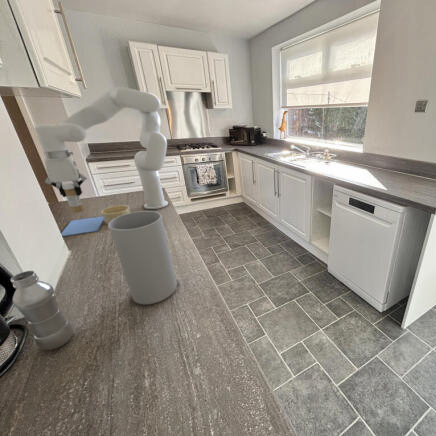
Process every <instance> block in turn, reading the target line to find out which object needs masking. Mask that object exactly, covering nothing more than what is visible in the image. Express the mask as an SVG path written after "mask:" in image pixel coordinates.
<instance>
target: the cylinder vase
mask: <svg viewBox="0 0 436 436" xmlns="http://www.w3.org/2000/svg"><path fill="white" fill-rule="evenodd" d="M164 225H165V224H164V221H163V216H162V214H161V213H160V212H158V211H155V210H141V211H134V212H131V213H128V214H125V215H121V216H119V217H117V218H115V219H113V220H111V221H110V222H109V223H108V224H107V227H108V230H109V233H110V237H111V239H112V242H113V245H114V248H115V251H116V254H117V257H118V260H119V263H120V266H121V269H122V273H123V275H124V277H125V278H124V279H125V280H126V283H127V286H128V289H129V292H130V295H131V298H132V300H133V301H134V302H135V303H136V304H139V305H154V304H157V303H160V302H162V301H164V300H166V299H167V298H169V297H170V296H171V295H172V294H173V293H174V292H175V291H176V290H177V286H178V282H177V279H176V273H175V270H174V269H175V268H174V265H173V260H172V256H171V251H170V247H169V244H168V239H167V235H166V230H165V226H164Z"/></svg>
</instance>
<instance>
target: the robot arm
mask: <svg viewBox="0 0 436 436" xmlns="http://www.w3.org/2000/svg"><path fill="white" fill-rule="evenodd" d="M161 106H162V105H161V100H160V99H159V97H158V96H157V95H156V94H154V93H152V92H147V91H142V90H138V89H134V88H129V87H124V86H118V87H112V88H110V89H108V90H107V91H106V92H105V93H103V94H102V95H100V96H99V97H97V98H96V99H94V100H92V102H90V103H89V104H87V105H86V106H84V107H83V108H81V109H80V110H79V109H78V111H76V112H74V113H73V114H71V115H70V116H68V117H67V118H65V119H64V120H63V121H61V122H60V123H59V124H54V123H39V124H38V123H37V124H35V125H34V127H33V128H34V132H35V134H36V137H37V139H38V141H39V145H40V147H41V149H42V152H43V154H44V156H45V159H44V165H45V170H46V174H47V177H46V179H45V181H44V183H45V184H48V185H50V186H52V187H54V188H56V189H57V190H58V191H59V194H60V196H62V198H67V197H66V194H65V191H64V189H63V188H62V185H63V182H66V183H67V182H71V183H74V184H75V190H76V192H77V195H78V196H79V197H80V196H81V195H82V194H83V191H82V188H81V187H82V184H83V183H84V182H85V181H86V180H87V179H88V177H87V176H85V175H83V174H82V173H81V171H80V169H79V167H78V165H77V162H76V161H75V159H74V158H73V155H74V153H73V151H69V150H68V148H67V145H66V143H65V142H69V143H70V142H71V143H79V142H82V141H84V140H85V139H86V138H87V132H86V131H88V129H90V128H92V127H94V126H97V125H100V124H103V123H106V122H108V121H109V120H111V119H112V118H113V117H114V116H115V115H117V114H118V113H119V112H121V111H122V110H123V109H125V108H127V109H134V110H137V111H139V114H140V115H141V118H142V123H141V129H140V135H139V143H140V145H141V146H142V147H143V148H145V149H146V150H140V151H138V152H136V153H135V155H134V158H133V161H134V164H135V167H136V169H137V172H138V175H139V178H140V179H139V180H140V183H141V186H142V191H143V196H144V199H145V204H143V208H144V209H146V210H159V209H163V208H165V207H167V206H168V205H169V201H167V200H166V199H165V197H164V196H165V195H164V191H163V187H162V183H161V178H160V173H159V171H160V170H162V168H163V167H164V165H165V162H166V161H165V160H166V155H167V150H168V149H167V148H168V141H167V138H166V137H165V135H164V134H162V133H161V125H162V121H161V116H160V114H159V112H158V111H159V110H160V109H161Z"/></svg>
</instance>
